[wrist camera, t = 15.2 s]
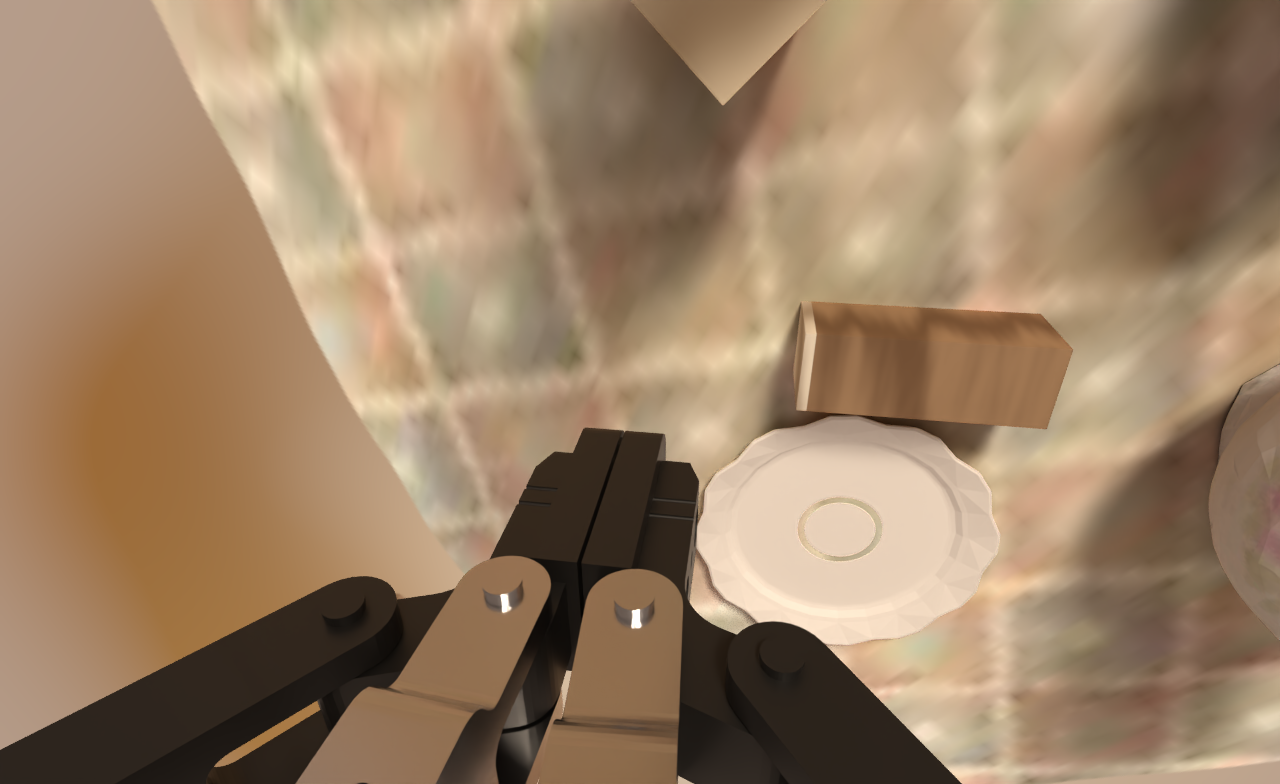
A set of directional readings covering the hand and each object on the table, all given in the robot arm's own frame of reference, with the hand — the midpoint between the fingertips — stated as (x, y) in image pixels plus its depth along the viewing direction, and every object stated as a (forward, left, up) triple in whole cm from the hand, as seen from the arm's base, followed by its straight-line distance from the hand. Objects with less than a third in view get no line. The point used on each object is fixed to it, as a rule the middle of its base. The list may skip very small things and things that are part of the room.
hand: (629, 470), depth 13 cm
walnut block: (+12, 0, -28) cm, 31 cm away
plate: (+28, -2, -31) cm, 42 cm away
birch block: (-7, +4, -31) cm, 32 cm away
